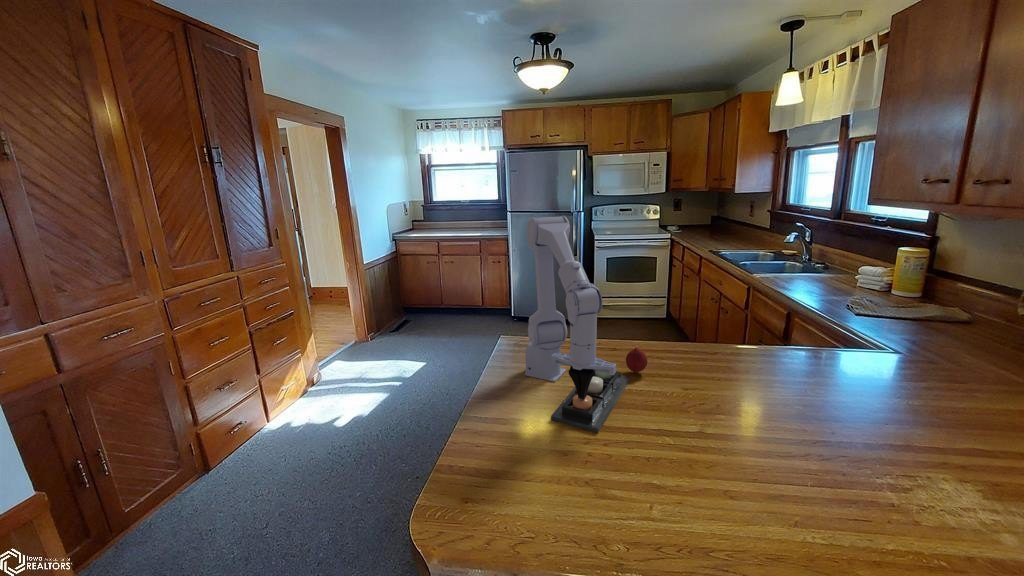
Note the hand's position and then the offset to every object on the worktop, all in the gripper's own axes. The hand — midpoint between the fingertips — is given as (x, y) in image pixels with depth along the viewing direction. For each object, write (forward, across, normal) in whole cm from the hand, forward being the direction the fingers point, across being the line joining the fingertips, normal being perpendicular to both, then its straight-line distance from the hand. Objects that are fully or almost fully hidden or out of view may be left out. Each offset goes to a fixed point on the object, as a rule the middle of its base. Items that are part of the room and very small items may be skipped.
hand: (582, 396), depth 94 cm
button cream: (+2, 0, +8) cm, 8 cm away
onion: (+5, +6, +27) cm, 28 cm away
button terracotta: (+3, 0, 0) cm, 3 cm away
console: (+4, 0, +8) cm, 9 cm away
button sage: (+2, 0, +16) cm, 16 cm away
